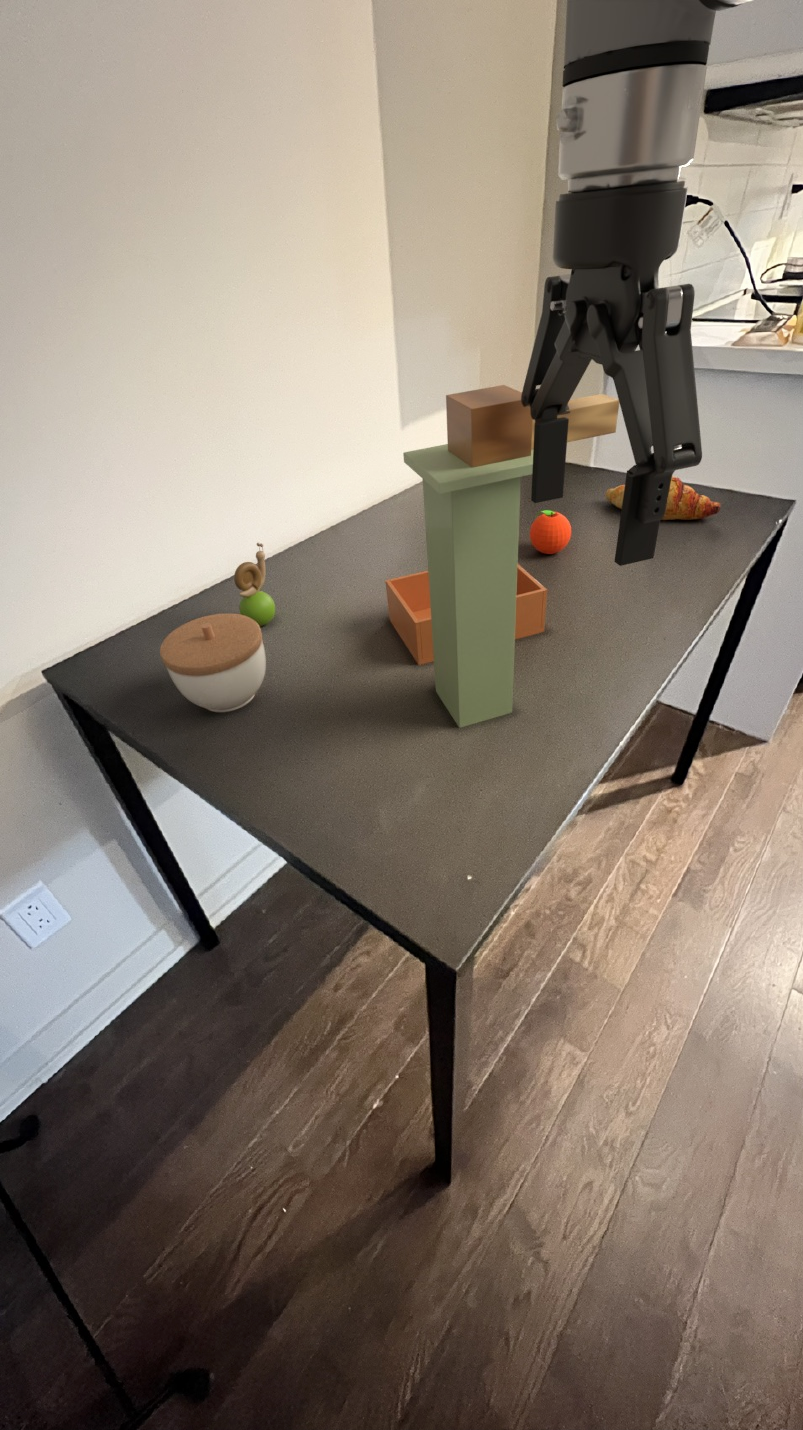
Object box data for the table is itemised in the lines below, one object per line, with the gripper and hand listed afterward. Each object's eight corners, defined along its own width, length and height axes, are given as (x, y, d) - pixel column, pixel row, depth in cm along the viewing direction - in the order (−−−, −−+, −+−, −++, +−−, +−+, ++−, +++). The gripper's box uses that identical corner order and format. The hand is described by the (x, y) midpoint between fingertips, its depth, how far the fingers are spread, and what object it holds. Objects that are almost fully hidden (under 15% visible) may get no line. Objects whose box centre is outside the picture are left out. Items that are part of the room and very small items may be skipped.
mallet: (591, 422, 65) (596, 368, 61) (624, 436, 60) (632, 379, 57) (447, 450, 62) (445, 394, 58) (472, 467, 57) (471, 408, 54)
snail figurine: (290, 616, 99) (273, 545, 91) (260, 636, 95) (241, 563, 88) (266, 608, 102) (248, 539, 94) (237, 627, 98) (216, 556, 90)
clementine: (517, 547, 111) (519, 508, 106) (550, 537, 113) (553, 499, 108) (543, 564, 105) (546, 524, 101) (577, 554, 107) (581, 513, 103)
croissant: (597, 524, 123) (592, 495, 117) (617, 485, 126) (613, 455, 119) (709, 542, 112) (711, 512, 106) (729, 499, 115) (732, 467, 108)
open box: (503, 591, 99) (504, 552, 95) (544, 632, 89) (547, 589, 85) (389, 620, 96) (385, 580, 91) (418, 665, 86) (415, 622, 81)
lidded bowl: (284, 708, 81) (265, 636, 74) (186, 737, 78) (156, 665, 71) (266, 659, 90) (247, 591, 83) (178, 683, 87) (151, 614, 80)
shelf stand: (505, 667, 84) (512, 431, 65) (542, 710, 76) (561, 457, 57) (422, 690, 81) (403, 452, 62) (450, 736, 74) (439, 482, 55)
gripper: (481, 196, 46) (483, 486, 59) (704, 172, 27) (632, 607, 40) (574, 186, 47) (555, 472, 60) (849, 156, 28) (732, 582, 41)
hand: (585, 526), depth 50 cm, fingers open, 13 cm apart
